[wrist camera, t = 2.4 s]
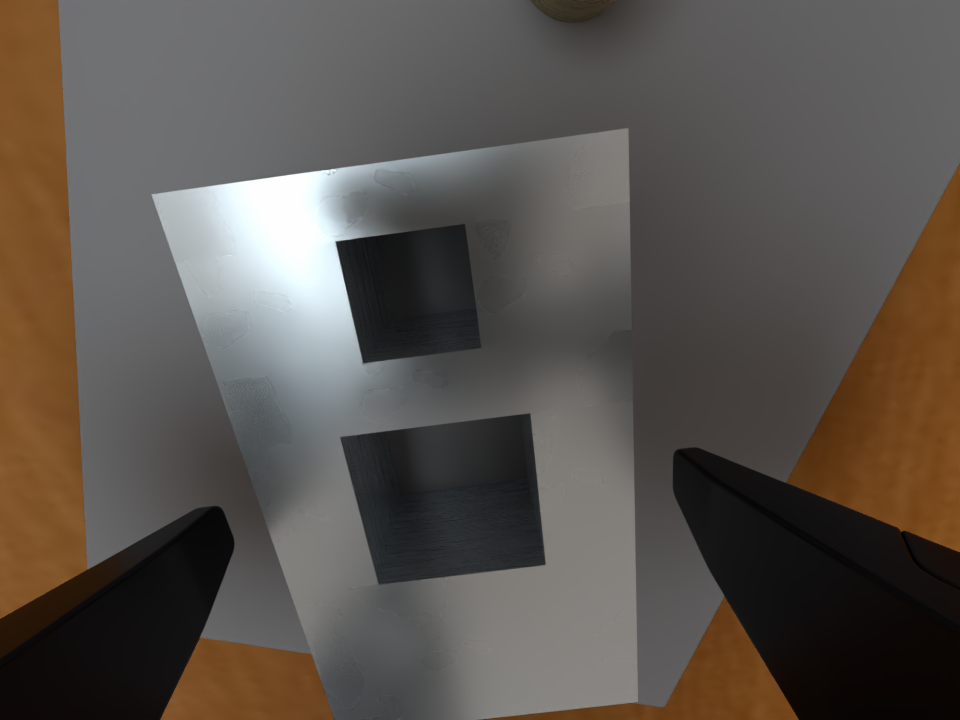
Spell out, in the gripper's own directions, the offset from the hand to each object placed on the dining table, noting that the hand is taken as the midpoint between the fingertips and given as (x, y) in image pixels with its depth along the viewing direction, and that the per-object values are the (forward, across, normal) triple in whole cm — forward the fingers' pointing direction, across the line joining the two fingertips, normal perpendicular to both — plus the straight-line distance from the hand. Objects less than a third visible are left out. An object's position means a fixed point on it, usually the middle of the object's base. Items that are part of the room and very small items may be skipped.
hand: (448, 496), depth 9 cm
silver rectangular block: (+3, 0, 0) cm, 3 cm away
